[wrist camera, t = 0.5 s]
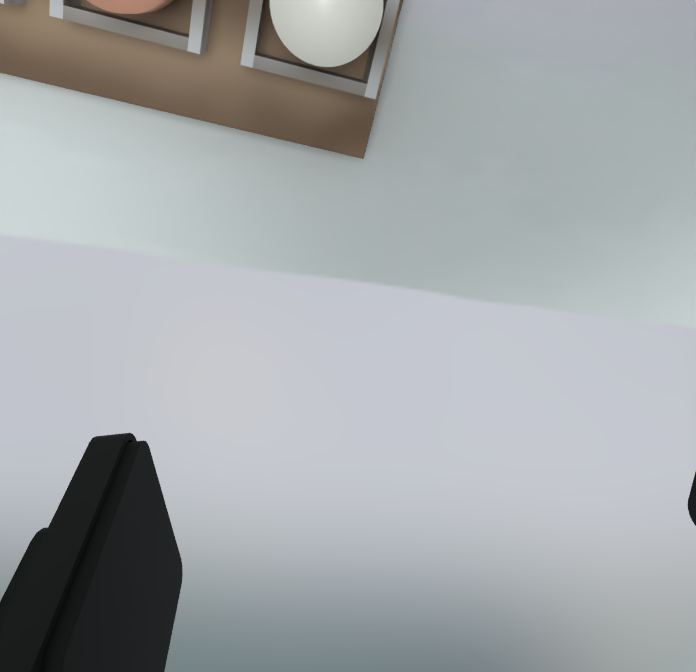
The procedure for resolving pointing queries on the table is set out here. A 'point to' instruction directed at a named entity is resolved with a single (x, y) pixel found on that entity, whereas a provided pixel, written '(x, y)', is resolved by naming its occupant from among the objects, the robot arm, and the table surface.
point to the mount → (200, 66)
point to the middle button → (131, 5)
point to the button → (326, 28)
